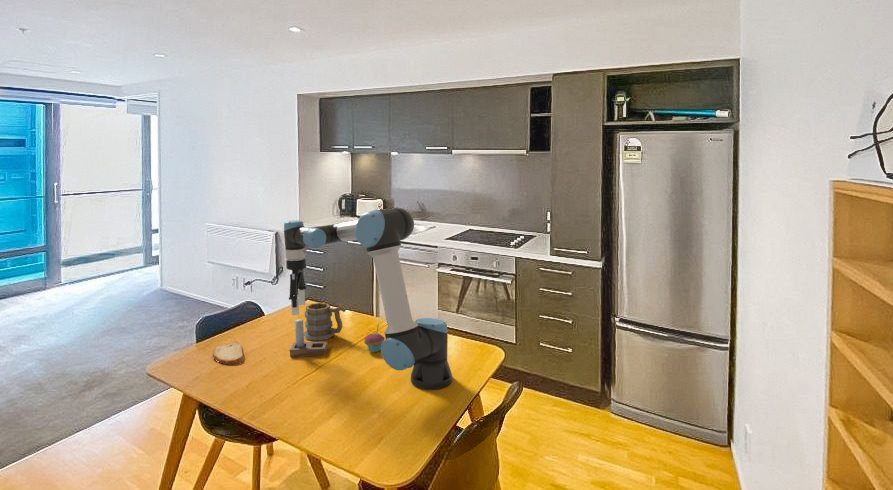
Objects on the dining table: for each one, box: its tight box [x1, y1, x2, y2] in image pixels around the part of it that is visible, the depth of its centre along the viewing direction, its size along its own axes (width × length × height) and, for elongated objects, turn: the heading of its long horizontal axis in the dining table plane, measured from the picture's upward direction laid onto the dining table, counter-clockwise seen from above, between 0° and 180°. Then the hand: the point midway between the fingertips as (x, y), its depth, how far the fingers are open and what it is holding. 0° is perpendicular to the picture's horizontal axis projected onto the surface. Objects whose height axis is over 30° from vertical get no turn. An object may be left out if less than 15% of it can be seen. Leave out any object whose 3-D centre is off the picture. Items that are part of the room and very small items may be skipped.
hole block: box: [289, 341, 329, 358], centre depth 208 cm, size 8×14×3 cm, turn 96°
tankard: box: [304, 302, 347, 342], centre depth 225 cm, size 20×13×15 cm, turn 73°
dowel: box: [294, 318, 305, 348], centre depth 206 cm, size 3×3×14 cm
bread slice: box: [212, 341, 245, 365], centre depth 205 cm, size 18×18×4 cm
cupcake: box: [363, 322, 386, 353], centre depth 209 cm, size 9×8×12 cm
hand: (298, 309), depth 204 cm, fingers open, 13 cm apart
